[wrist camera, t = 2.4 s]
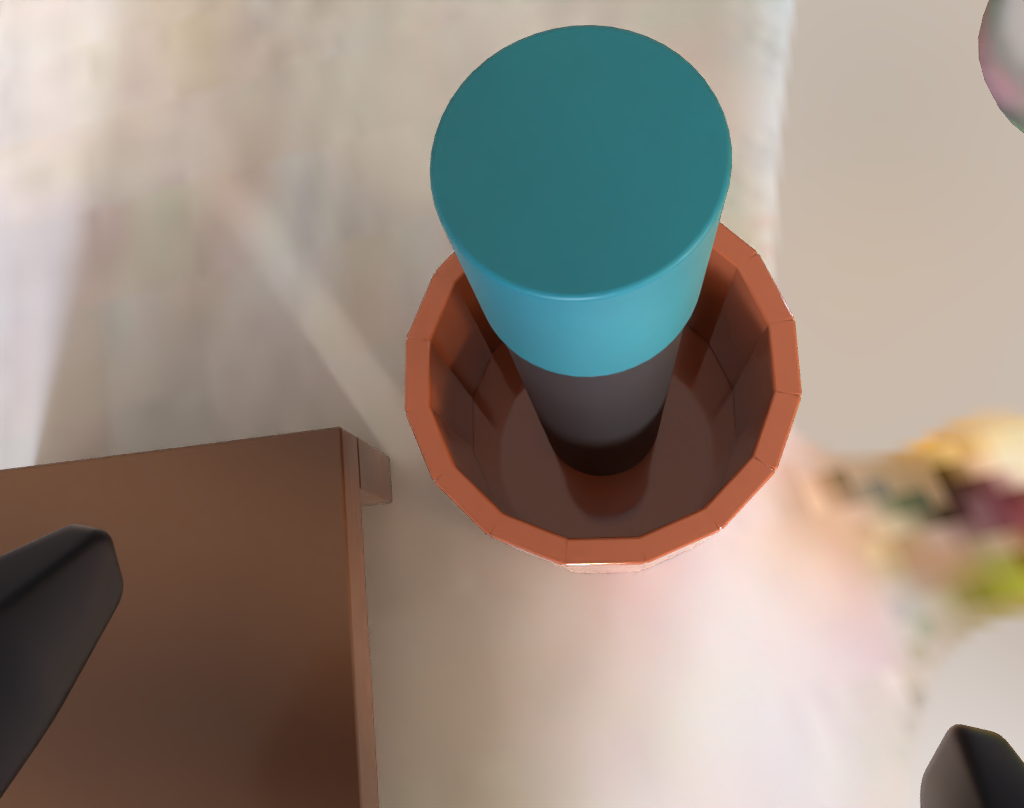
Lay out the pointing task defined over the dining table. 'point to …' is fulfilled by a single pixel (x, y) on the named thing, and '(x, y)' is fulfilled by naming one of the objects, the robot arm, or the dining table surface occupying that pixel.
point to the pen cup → (654, 480)
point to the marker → (586, 223)
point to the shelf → (215, 626)
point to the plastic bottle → (1004, 56)
